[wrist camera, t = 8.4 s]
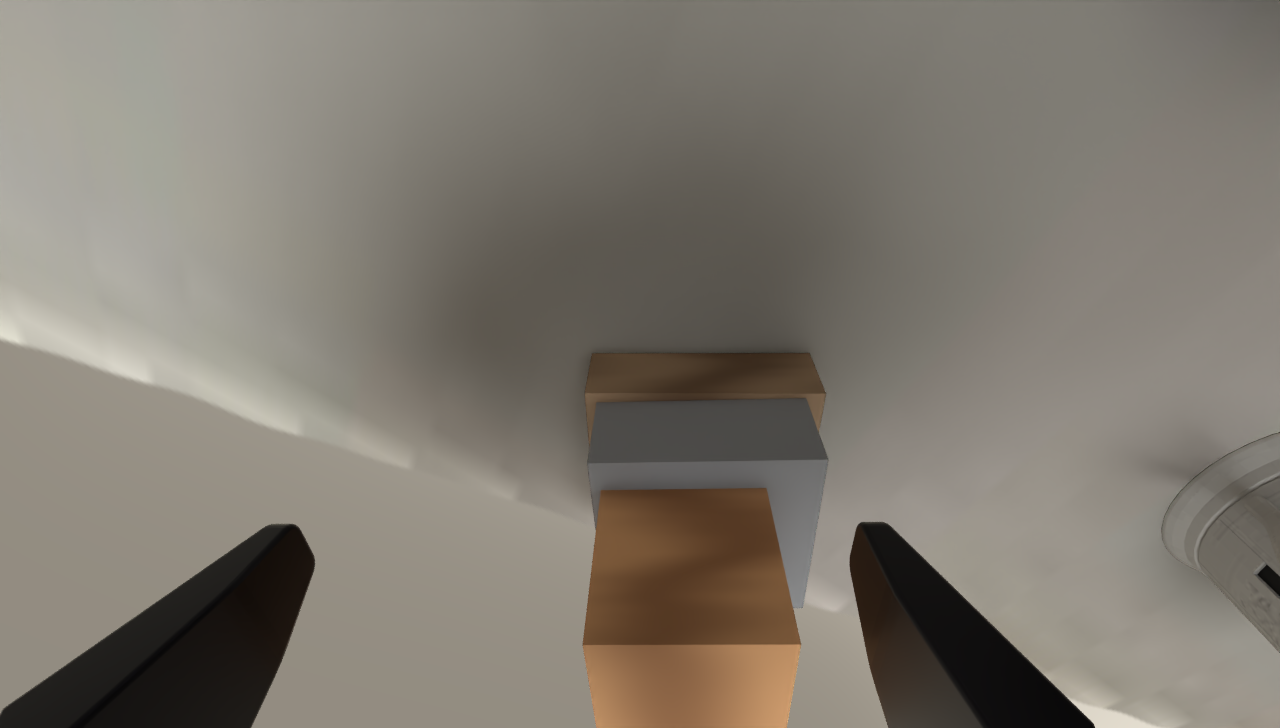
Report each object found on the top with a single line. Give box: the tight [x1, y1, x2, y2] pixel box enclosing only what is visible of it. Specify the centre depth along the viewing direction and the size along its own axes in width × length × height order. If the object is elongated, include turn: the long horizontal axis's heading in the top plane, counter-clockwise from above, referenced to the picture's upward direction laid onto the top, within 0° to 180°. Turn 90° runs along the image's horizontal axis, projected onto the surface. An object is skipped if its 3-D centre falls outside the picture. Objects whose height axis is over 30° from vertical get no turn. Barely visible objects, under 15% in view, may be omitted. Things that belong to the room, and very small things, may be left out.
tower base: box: [585, 353, 826, 448], centre depth 23 cm, size 8×8×3 cm
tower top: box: [587, 398, 828, 608], centre depth 20 cm, size 7×7×3 cm
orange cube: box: [583, 488, 801, 728], centre depth 17 cm, size 5×5×5 cm
